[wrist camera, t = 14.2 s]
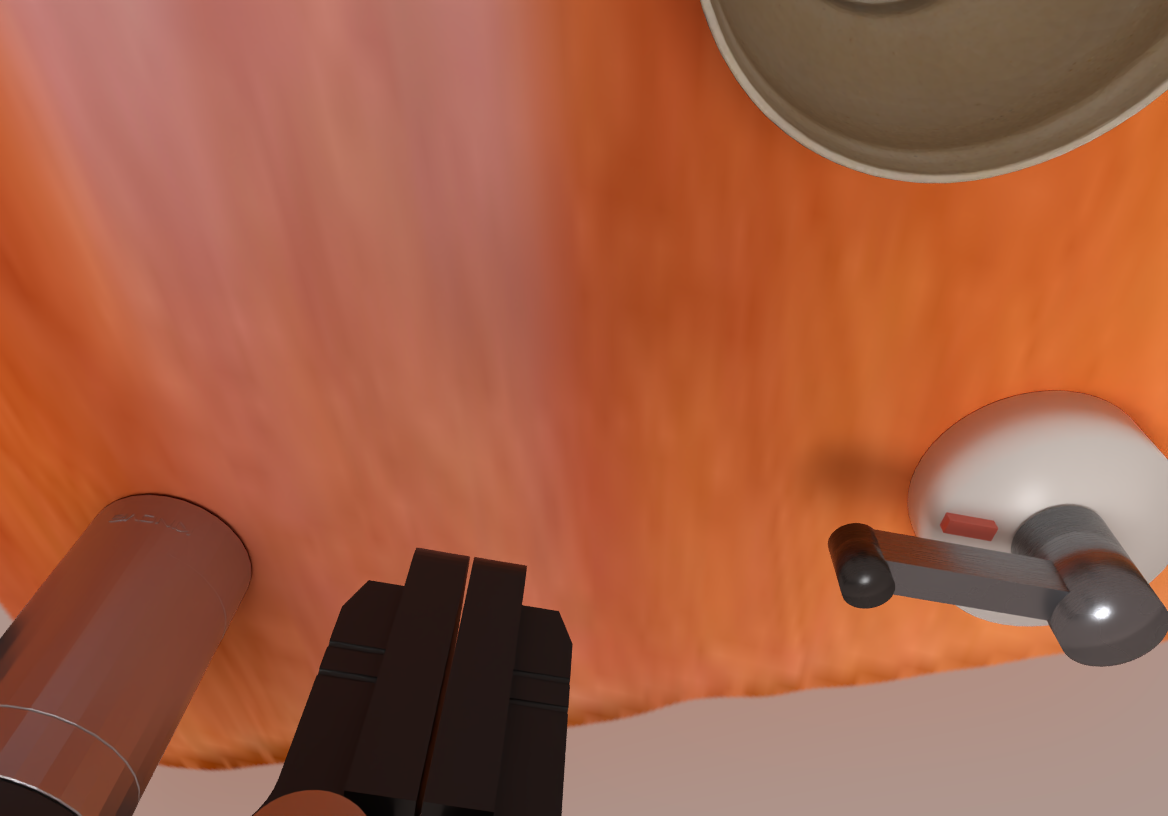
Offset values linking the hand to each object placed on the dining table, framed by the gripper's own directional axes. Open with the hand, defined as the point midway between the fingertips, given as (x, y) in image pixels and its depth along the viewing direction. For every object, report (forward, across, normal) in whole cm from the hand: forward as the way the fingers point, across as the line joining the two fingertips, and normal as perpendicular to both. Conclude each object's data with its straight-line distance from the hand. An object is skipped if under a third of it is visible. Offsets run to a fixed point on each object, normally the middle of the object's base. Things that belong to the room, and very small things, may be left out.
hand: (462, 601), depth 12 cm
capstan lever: (+25, -22, +15) cm, 36 cm away
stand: (+29, -27, +15) cm, 42 cm away
